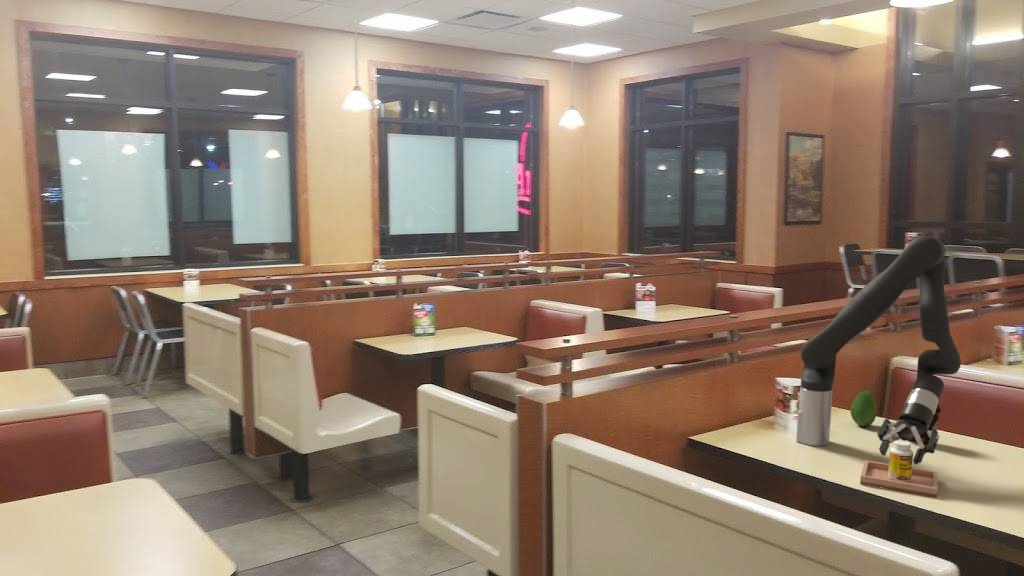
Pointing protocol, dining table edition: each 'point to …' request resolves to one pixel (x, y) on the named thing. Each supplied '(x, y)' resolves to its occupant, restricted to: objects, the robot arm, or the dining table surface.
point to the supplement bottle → (900, 461)
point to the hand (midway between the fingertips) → (898, 458)
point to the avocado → (863, 409)
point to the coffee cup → (931, 426)
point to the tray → (919, 483)
